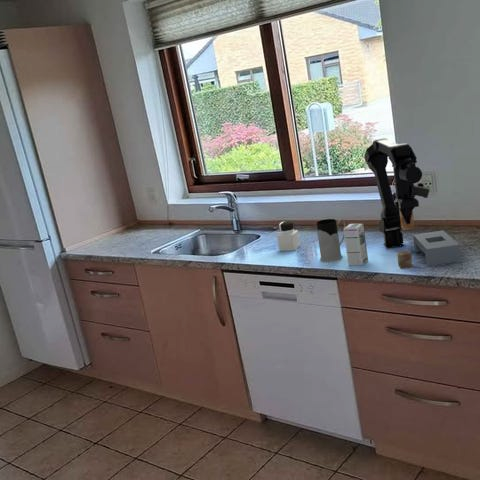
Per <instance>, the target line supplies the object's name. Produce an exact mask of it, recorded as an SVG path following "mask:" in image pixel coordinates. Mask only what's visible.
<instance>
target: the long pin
mask: <svg viewBox="0 0 480 480" xmlns="http://www.w3.org/2000/svg"><path fill="white" fill-rule="evenodd" d="M413 211H414V209H413V210H412V214H411V221H410V224H407V223H406V221H405V219H404V217H403V215H402V213H401V211H400V209H399V212H400V221H401V228H402V230H403V231H406V230H411V229H412V230H413V229H415V220H414V212H413Z"/></svg>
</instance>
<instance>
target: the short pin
mask: <svg viewBox="0 0 480 480" xmlns="http://www.w3.org/2000/svg"><path fill="white" fill-rule="evenodd" d="M396 254H397V263H398V267H399V268H400V269H403V270H404V269H409V268H413V258H412V252H411V251H410V250H408V249H407V250H402V251H397V253H396Z"/></svg>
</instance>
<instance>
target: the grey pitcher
mask: <svg viewBox="0 0 480 480" xmlns="http://www.w3.org/2000/svg"><path fill="white" fill-rule="evenodd" d="M341 221H342V222H343V229H344V228H345V227H346V226H347V224H346V221H345V220H344V219H339V220H336V219H335V218H326V219H321V220H319V221H317V222H316V228H317V230H316V231H317V239H318V245H319V247H318V248H319V252H320V253H319V254H320V257H319V258H320V259H319V261H320V262H321V263H322V262H323V263H333V262H338V261H340V260H342V259H343V257H344V256H343V255H342V252H341V245H342V244H343V241H344V240H345V237H344V234H343V235H342V238H341V240H340V237H339V230H340V229H339V224H340V222H341Z"/></svg>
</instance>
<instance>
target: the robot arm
mask: <svg viewBox="0 0 480 480" xmlns="http://www.w3.org/2000/svg"><path fill="white" fill-rule="evenodd" d="M388 159H389V160H388ZM389 161H390V163H391V167H392V168H393V169H392V170H393V178H394V183H393V186H394V188H395V191H394V192H393V191H392V189H391V184H390V180H389V177H388V172H387V165H388V162H389ZM364 162H365V164H367V167H368V169H369V170H370V171H371V172H372V173H373V174H374V178H375V183H376V186H377V189H378V194H379V197H380V201H381V205H382V209H381V213H380V221H379V224H378V230H379V231H380V232H381V233H382V234H383V240H384V242H383V245H384V246H385V248H386V249H389V248H397V247H403V246H404V236H403V233H402V230H403V229H402V228H401V221H400V212H399V209H400V211H401V213H402V215H403V217H404V219H405V221H406V223H407V224H410V221H411V214H412V210H413V211H414V209H415V208H419V207H420V203H419V200H418V199H417V198H416V196H418V197H423V198H425V199H428V196H429V195H430V194H429V193H430V191H431V189H430V188H428V187H427V186H424V183H422V182H420V181H421V180H422V178H423V172H422V170H421V169H420V167H418V166H416V164H417V163H418V161H417V156H416V154H415V152H414V150H413V149H412V147H411V145H410V144H409V143H396V142H393V141H391V140H389V139H388V138H385V137H383V138H379V139H378V138H377V139H375V140H373V141H372V143H371V145H369V147H368V148H367V149H366V150H365V153H364ZM392 192H393V193H392Z"/></svg>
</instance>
